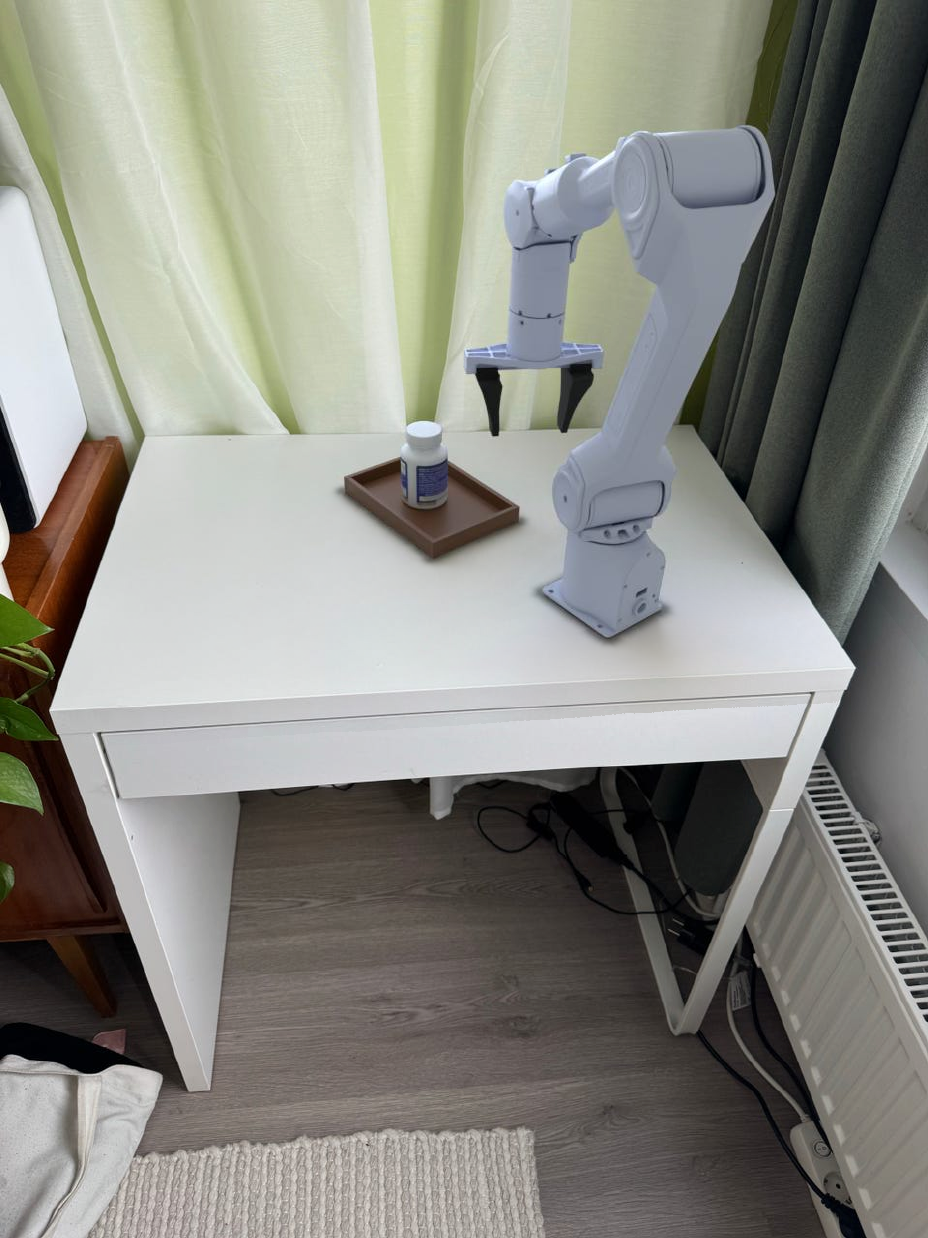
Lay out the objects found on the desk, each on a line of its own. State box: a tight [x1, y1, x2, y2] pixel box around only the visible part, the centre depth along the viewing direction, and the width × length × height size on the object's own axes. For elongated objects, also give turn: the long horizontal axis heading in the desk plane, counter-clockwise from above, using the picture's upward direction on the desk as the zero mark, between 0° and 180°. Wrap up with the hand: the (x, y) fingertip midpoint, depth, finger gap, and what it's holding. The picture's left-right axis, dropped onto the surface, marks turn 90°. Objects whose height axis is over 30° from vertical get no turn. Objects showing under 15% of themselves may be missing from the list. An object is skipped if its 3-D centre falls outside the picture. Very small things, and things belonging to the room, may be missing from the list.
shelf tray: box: [343, 456, 521, 559], centre depth 106 cm, size 17×12×2 cm
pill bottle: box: [400, 420, 449, 509], centre depth 105 cm, size 5×5×9 cm
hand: (528, 430), depth 102 cm, fingers open, 7 cm apart
